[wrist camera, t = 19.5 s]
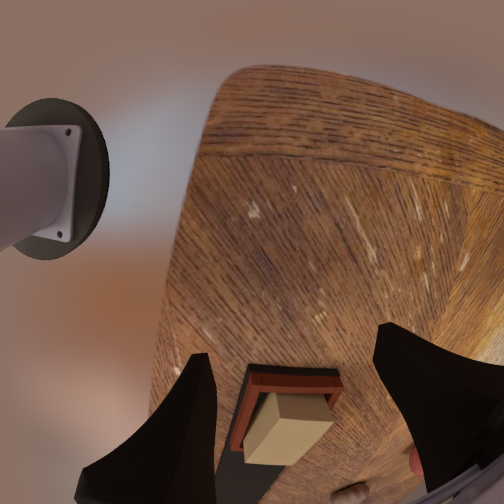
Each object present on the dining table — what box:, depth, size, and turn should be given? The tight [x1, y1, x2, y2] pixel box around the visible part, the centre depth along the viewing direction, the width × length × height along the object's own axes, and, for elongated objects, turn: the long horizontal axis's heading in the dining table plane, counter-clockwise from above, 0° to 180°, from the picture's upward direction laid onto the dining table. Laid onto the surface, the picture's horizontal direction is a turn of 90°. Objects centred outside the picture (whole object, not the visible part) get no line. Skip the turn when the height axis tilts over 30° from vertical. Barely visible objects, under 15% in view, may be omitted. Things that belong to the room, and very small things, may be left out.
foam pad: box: [243, 392, 334, 465], centre depth 22 cm, size 5×8×4 cm, turn 160°
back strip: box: [215, 364, 344, 504], centre depth 28 cm, size 8×40×2 cm, turn 168°
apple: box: [409, 446, 424, 476], centre depth 29 cm, size 7×7×8 cm
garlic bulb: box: [331, 484, 369, 504], centre depth 32 cm, size 8×7×8 cm
